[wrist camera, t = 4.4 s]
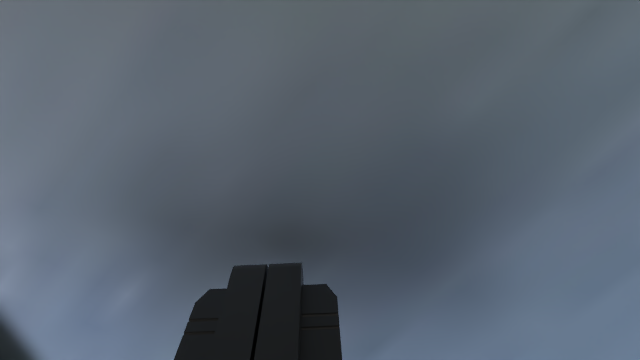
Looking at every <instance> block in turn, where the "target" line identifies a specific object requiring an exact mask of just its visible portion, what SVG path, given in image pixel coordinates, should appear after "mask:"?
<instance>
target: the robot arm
mask: <svg viewBox="0 0 640 360" xmlns="http://www.w3.org/2000/svg"><path fill="white" fill-rule="evenodd" d="M174 360H342V353H341V340H340V329H339V316H338V303H337V296H336V295H335V294H334V293H333V292H332V290H331V289H330V288H329V287H328V286H327V284H319V285H304V284H303V268H302V263H285V264H269V267H268V266H267V264H264V265H241V266H234V267H233V269H232V273H231V276H230V280H229V283H228V287H227V289H209V290H208V291H207V292H206V293H205V294H204V295H203V296H202V297H201V298H200V299H199V300H198V301H197V302H196V303H195V305H194V307H193V310H192V313H191V315H190V318H189V322H188V323H187V326H186V329H185V331H184V335H183V337H182V339H181V342H180V345H179V347H178V350H177V353H176V355H175V358H174Z"/></svg>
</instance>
